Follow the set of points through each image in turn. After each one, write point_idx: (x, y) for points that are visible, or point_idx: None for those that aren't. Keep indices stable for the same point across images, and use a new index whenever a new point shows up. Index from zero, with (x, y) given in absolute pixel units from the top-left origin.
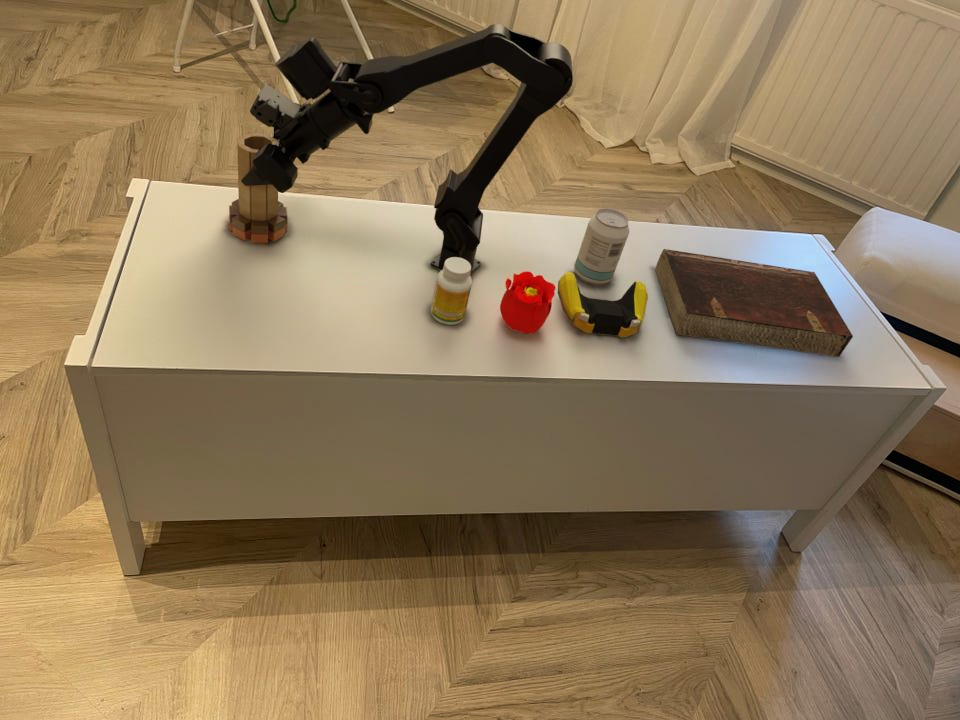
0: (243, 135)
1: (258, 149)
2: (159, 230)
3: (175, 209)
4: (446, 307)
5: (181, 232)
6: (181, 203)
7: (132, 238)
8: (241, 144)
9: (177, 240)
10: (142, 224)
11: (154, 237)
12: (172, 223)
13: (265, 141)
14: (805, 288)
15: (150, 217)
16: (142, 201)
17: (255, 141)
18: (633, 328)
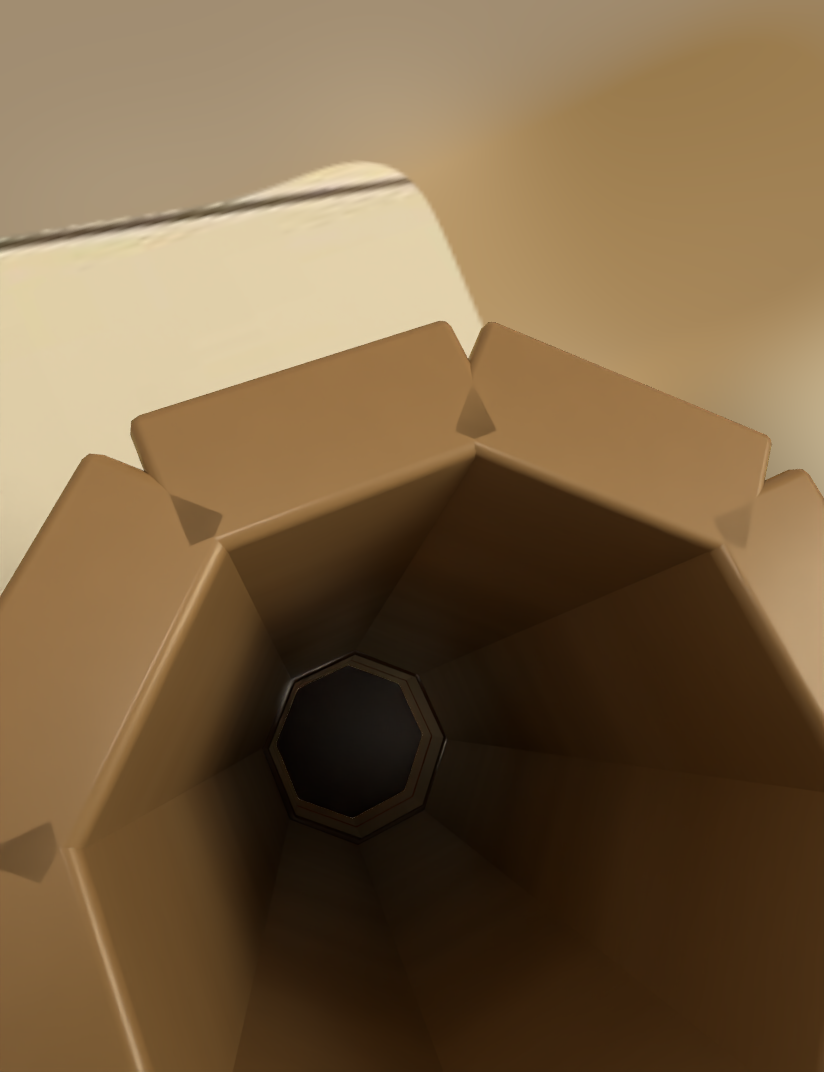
0: (625, 383)
1: (626, 694)
2: (119, 321)
3: (320, 321)
4: None
5: (140, 410)
6: (380, 326)
7: (8, 247)
8: (199, 485)
9: (62, 419)
10: (140, 245)
11: (50, 322)
12: (200, 349)
13: (774, 852)
14: None
15: (210, 255)
16: (318, 190)
17: (681, 634)
18: None
